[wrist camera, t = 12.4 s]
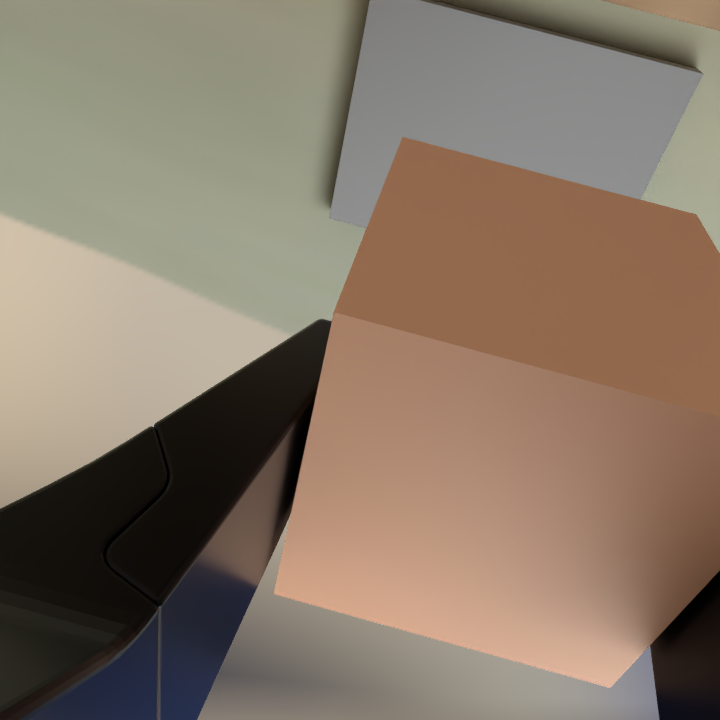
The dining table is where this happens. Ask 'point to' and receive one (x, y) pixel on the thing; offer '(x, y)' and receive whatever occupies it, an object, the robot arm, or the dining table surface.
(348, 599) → the terracotta block
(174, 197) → the dining table surface
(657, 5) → the walnut board
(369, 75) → the grey pad
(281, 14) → the dining table surface
